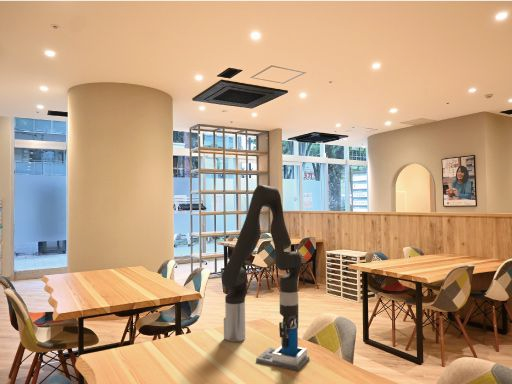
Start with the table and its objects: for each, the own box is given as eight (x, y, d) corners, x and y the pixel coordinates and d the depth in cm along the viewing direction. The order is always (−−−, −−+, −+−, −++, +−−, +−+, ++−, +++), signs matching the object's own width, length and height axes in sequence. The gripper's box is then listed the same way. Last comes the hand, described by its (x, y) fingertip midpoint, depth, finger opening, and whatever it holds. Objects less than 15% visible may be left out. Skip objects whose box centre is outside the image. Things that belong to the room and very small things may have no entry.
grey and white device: (256, 362, 149) (256, 350, 149) (269, 351, 160) (269, 340, 160) (298, 371, 141) (297, 359, 141) (309, 359, 151) (309, 348, 151)
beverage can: (279, 354, 151) (278, 324, 151) (293, 351, 153) (293, 322, 153) (285, 360, 145) (285, 329, 145) (300, 358, 147) (300, 327, 147)
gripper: (287, 297, 158) (288, 336, 157) (272, 305, 145) (273, 349, 145) (304, 299, 154) (304, 340, 154) (290, 308, 141) (290, 352, 141)
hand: (289, 344), depth 149 cm, fingers closed on beverage can, 6 cm apart
